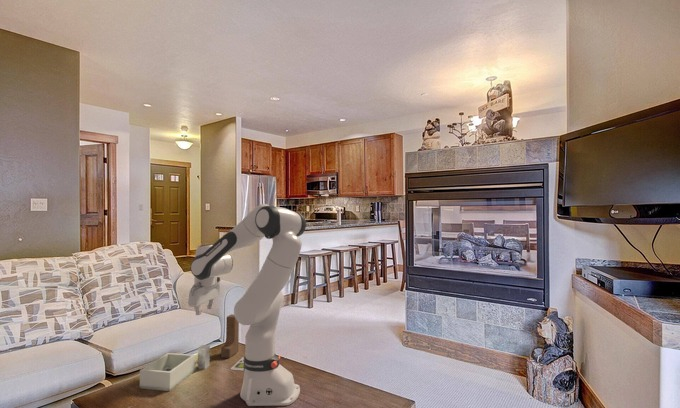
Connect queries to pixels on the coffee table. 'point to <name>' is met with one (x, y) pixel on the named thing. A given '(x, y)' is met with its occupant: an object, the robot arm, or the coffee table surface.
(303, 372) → the coffee table surface
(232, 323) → the wooden block
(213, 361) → the coffee table surface
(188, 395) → the coffee table surface
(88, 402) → the coffee table surface
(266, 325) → the robot arm
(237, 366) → the handheld gaming device
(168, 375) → the walled box
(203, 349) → the metal peg
